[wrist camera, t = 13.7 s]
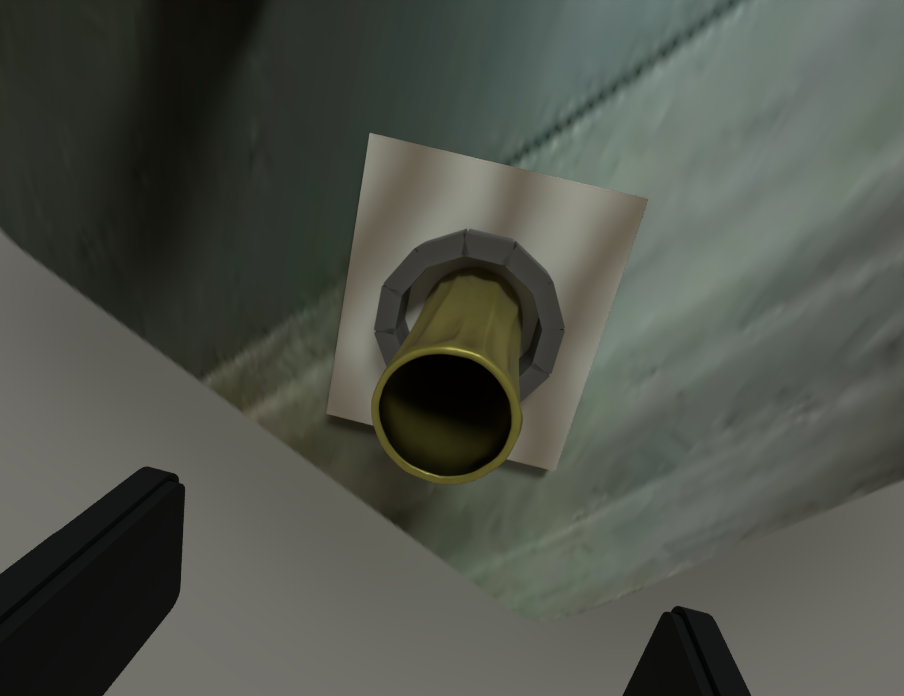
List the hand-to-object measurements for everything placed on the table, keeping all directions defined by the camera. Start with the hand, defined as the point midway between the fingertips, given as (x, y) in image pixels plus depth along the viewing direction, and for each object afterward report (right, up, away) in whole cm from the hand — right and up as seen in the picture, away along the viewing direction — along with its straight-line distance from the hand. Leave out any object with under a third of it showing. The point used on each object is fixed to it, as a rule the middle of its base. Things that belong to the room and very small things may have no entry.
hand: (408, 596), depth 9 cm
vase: (+2, +7, +21) cm, 22 cm away
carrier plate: (+2, +7, +22) cm, 23 cm away
